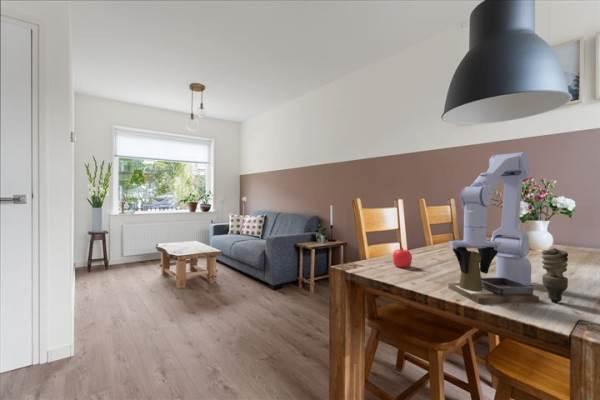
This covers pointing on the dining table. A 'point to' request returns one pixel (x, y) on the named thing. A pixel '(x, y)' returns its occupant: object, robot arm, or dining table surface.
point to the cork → (472, 274)
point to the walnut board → (494, 296)
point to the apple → (402, 258)
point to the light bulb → (555, 273)
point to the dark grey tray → (513, 289)
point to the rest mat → (477, 291)
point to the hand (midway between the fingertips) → (474, 272)
